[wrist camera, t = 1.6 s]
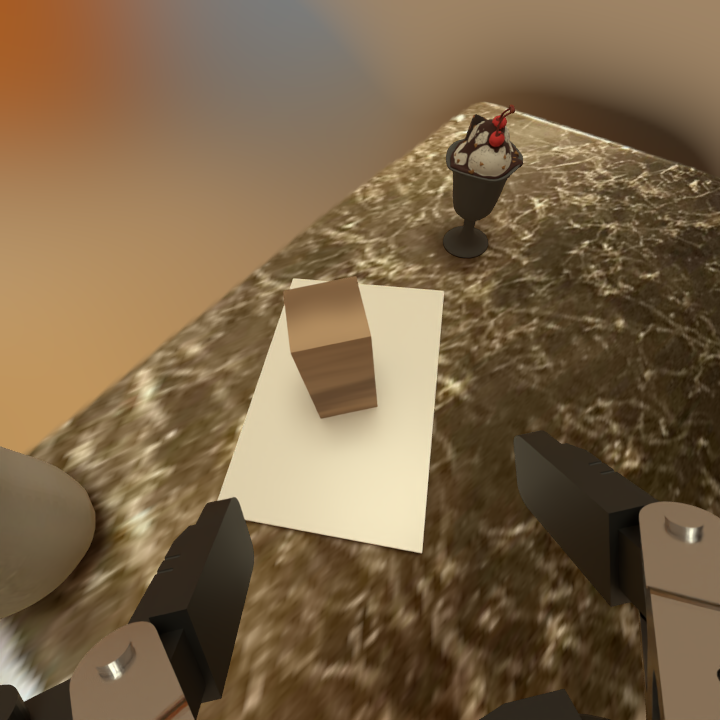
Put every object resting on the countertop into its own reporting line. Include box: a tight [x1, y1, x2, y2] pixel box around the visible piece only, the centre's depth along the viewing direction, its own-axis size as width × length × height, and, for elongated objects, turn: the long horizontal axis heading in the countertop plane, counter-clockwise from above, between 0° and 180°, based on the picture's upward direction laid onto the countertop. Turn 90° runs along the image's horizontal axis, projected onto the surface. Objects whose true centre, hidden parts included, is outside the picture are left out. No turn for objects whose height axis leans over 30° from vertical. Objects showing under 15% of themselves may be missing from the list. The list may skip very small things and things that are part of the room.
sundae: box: [443, 105, 523, 258], centre depth 36 cm, size 7×7×15 cm
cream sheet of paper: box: [218, 278, 444, 553], centre depth 34 cm, size 24×16×1 cm, turn 170°
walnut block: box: [283, 276, 378, 419], centre depth 29 cm, size 5×5×11 cm
